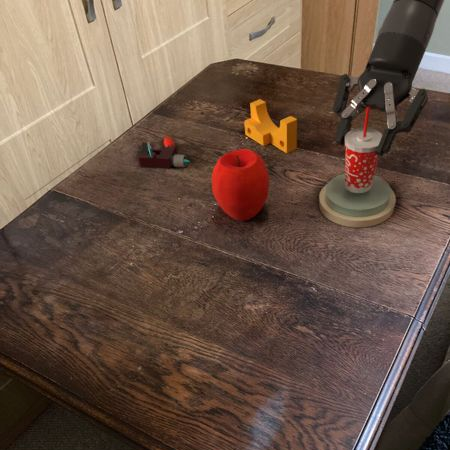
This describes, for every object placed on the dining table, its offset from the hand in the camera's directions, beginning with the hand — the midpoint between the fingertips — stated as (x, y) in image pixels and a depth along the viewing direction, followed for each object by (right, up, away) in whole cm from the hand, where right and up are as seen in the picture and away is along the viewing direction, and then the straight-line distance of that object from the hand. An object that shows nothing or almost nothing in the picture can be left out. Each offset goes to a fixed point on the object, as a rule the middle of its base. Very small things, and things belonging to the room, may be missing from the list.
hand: (358, 149), depth 78 cm
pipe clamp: (-12, +10, +26) cm, 30 cm away
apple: (-18, -8, +11) cm, 22 cm away
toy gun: (-33, +6, +26) cm, 43 cm away
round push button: (+2, -7, +9) cm, 12 cm away
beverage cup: (+2, -4, +7) cm, 8 cm away
